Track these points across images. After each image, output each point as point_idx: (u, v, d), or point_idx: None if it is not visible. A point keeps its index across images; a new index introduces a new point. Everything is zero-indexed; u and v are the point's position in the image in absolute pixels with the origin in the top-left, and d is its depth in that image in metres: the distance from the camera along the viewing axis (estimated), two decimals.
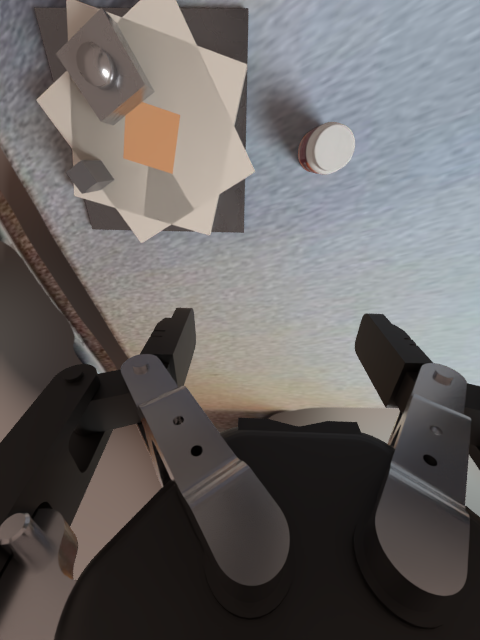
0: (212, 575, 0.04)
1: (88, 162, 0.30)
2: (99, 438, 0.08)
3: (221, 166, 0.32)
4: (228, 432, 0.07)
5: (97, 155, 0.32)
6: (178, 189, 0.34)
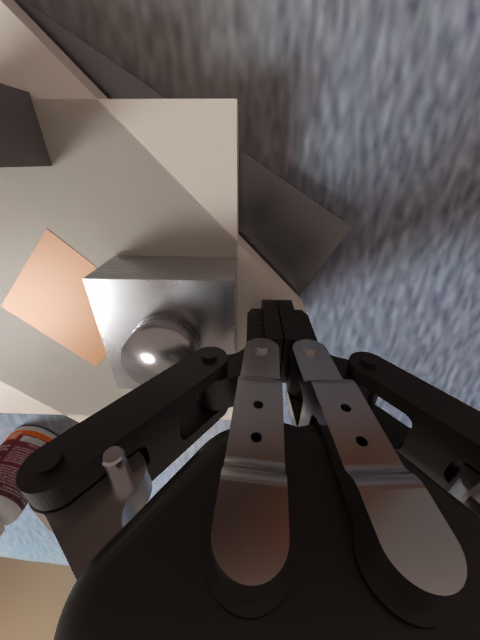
0: None
1: None
2: (208, 417, 0.09)
3: (7, 380, 0.18)
4: (228, 432, 0.07)
5: (65, 167, 0.11)
6: None
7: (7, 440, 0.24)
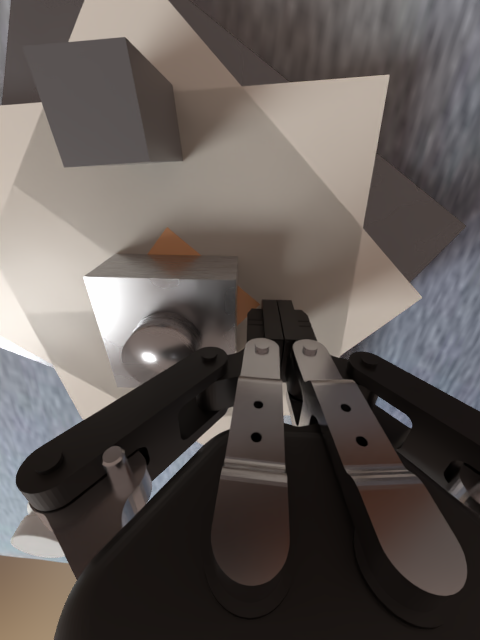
0: None
1: None
2: (208, 418, 0.09)
3: (100, 385, 0.18)
4: (228, 432, 0.07)
5: (196, 161, 0.11)
6: (73, 305, 0.15)
7: None
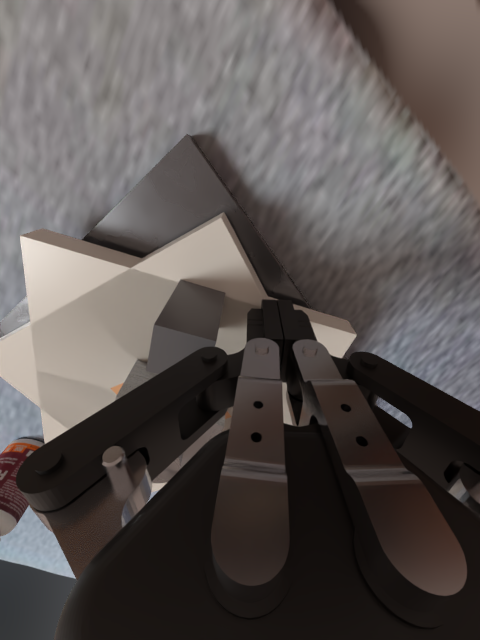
0: None
1: None
2: (208, 418, 0.09)
3: None
4: (228, 432, 0.07)
5: (222, 332, 0.15)
6: (83, 377, 0.17)
7: (12, 452, 0.25)
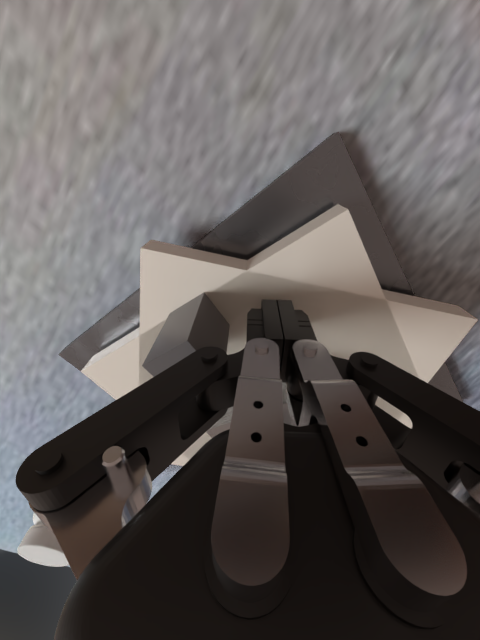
0: None
1: None
2: (208, 418, 0.09)
3: None
4: (228, 432, 0.07)
5: (238, 321, 0.15)
6: None
7: None
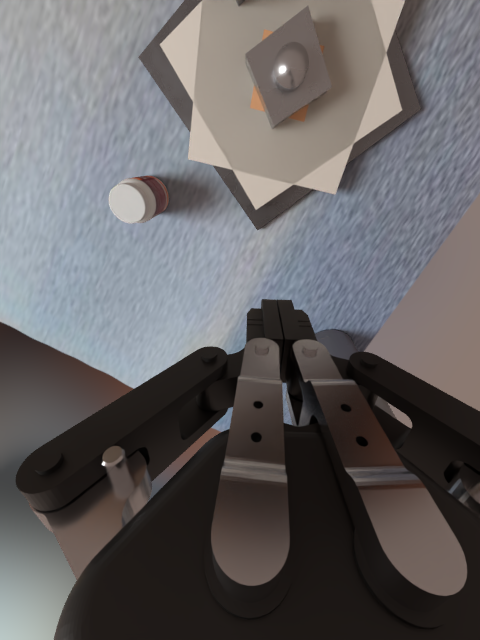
0: None
1: None
2: (208, 418, 0.09)
3: (259, 172, 0.31)
4: (228, 432, 0.07)
5: None
6: (234, 115, 0.29)
7: (144, 176, 0.33)
